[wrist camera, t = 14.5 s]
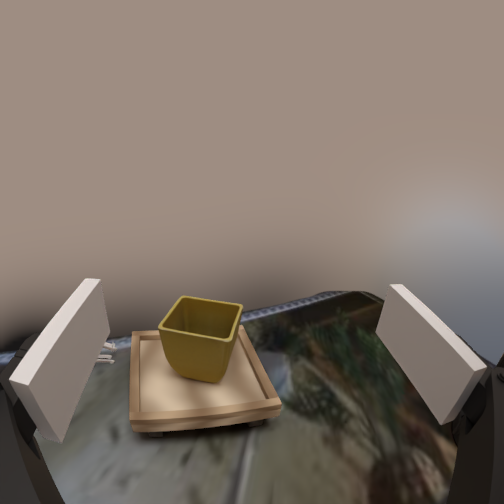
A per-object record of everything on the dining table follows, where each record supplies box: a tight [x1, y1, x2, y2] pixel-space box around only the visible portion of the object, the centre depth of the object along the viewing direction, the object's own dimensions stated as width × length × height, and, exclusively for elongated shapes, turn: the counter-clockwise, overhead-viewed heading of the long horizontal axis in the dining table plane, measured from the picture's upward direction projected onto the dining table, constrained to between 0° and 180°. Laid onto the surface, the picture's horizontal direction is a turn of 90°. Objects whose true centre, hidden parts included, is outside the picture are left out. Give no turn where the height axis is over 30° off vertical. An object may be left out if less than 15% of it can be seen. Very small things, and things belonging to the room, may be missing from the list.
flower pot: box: [158, 296, 243, 383], centre depth 37 cm, size 9×9×9 cm
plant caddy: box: [129, 325, 282, 437], centre depth 39 cm, size 18×18×6 cm
